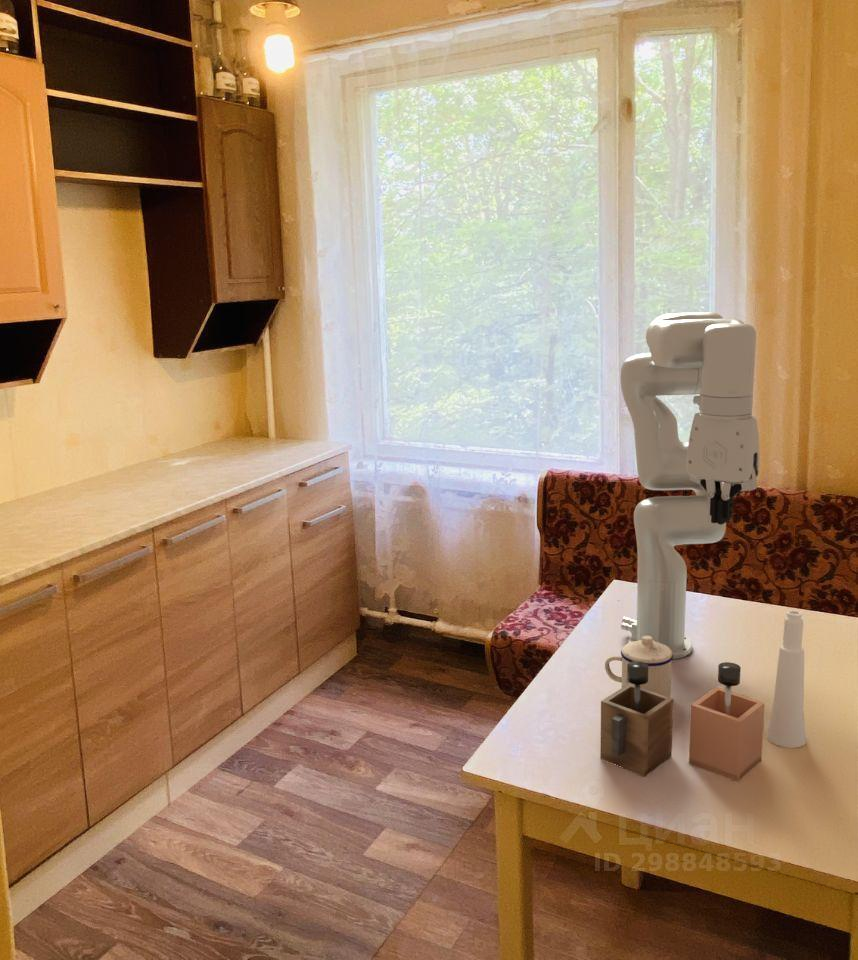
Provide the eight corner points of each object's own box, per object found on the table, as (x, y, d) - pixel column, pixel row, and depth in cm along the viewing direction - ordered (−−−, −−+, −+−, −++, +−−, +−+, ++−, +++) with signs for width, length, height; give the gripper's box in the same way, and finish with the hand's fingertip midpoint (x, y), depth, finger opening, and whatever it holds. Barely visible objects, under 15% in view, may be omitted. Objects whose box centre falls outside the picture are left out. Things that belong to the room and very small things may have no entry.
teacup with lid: (675, 690, 161) (677, 630, 159) (667, 712, 153) (669, 650, 151) (609, 680, 166) (610, 622, 163) (599, 702, 158) (600, 641, 155)
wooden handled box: (671, 756, 140) (673, 698, 137) (637, 782, 133) (638, 722, 131) (628, 739, 145) (629, 683, 143) (593, 763, 138) (593, 705, 136)
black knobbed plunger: (700, 750, 137) (703, 667, 134) (717, 736, 141) (721, 655, 138) (734, 763, 133) (738, 678, 130) (751, 748, 137) (755, 666, 134)
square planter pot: (688, 763, 138) (690, 704, 135) (719, 738, 144) (722, 682, 142) (737, 782, 132) (740, 722, 130) (767, 755, 139) (770, 698, 136)
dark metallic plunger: (611, 748, 139) (612, 666, 136) (630, 734, 143) (632, 654, 140) (642, 760, 135) (643, 677, 132) (661, 746, 139) (663, 664, 136)
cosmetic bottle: (807, 733, 145) (816, 608, 140) (805, 751, 140) (814, 622, 135) (768, 726, 147) (775, 603, 142) (764, 744, 142) (771, 616, 137)
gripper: (669, 405, 136) (665, 518, 140) (762, 414, 126) (755, 536, 130) (693, 398, 141) (689, 508, 146) (785, 407, 131) (777, 525, 135)
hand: (720, 521), depth 138 cm, fingers closed
